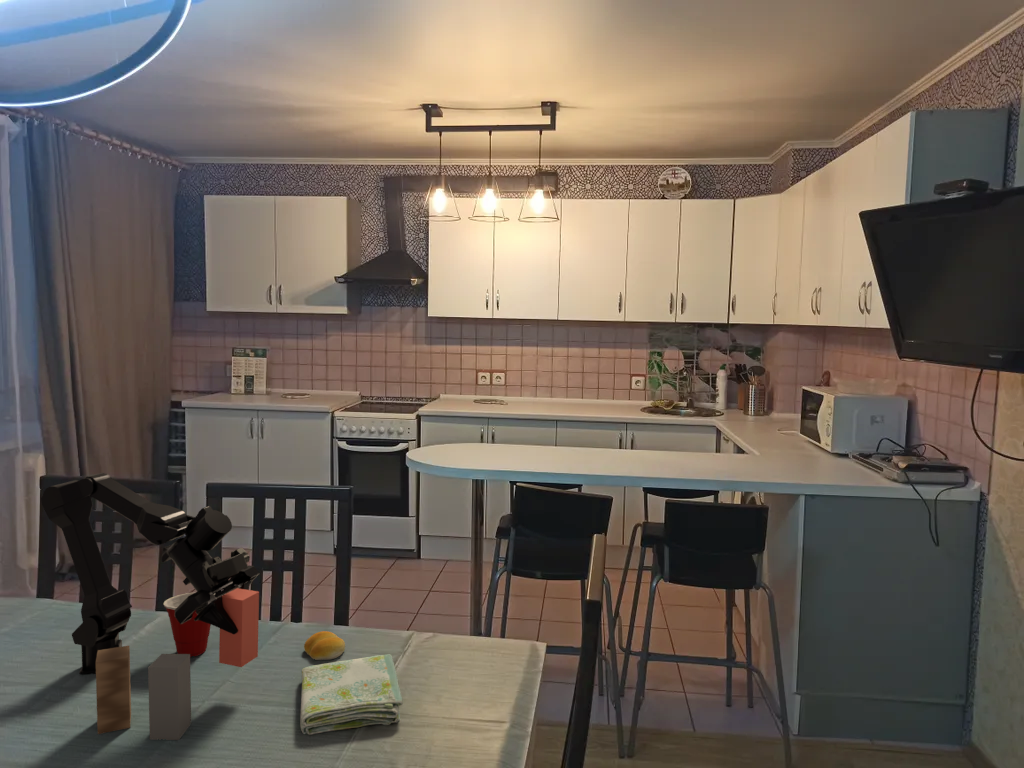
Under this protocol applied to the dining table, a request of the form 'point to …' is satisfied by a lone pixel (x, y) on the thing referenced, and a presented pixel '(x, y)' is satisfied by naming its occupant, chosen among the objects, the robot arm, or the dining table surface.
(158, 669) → the gray block
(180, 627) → the plastic cup
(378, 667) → the towel
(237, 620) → the red block
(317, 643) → the bread roll
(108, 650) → the walnut block
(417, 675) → the dining table surface
